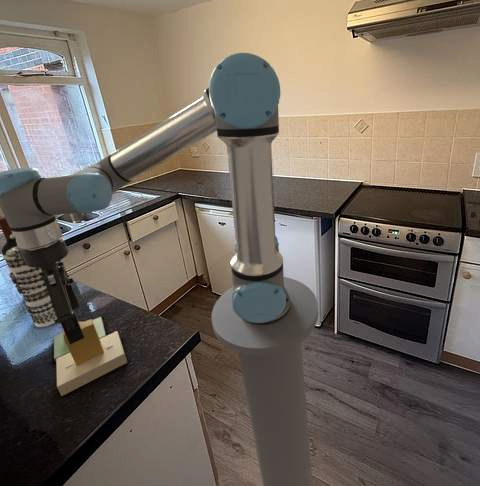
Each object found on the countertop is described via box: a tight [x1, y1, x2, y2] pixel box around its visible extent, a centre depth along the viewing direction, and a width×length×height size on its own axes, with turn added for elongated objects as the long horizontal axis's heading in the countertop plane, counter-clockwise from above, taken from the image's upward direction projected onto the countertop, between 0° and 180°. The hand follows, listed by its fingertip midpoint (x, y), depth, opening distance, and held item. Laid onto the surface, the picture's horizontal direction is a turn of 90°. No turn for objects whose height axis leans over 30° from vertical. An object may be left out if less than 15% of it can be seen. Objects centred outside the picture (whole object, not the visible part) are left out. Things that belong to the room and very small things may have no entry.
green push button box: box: [53, 316, 107, 362], centre depth 83 cm, size 12×10×3 cm
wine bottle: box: [0, 216, 19, 286], centre depth 101 cm, size 8×8×30 cm
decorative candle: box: [2, 246, 57, 328], centre depth 90 cm, size 9×9×25 cm
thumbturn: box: [62, 318, 104, 366], centre depth 72 cm, size 6×2×9 cm, turn 126°
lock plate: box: [55, 330, 128, 397], centre depth 74 cm, size 14×10×3 cm
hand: (75, 323), depth 70 cm, fingers open, 13 cm apart
